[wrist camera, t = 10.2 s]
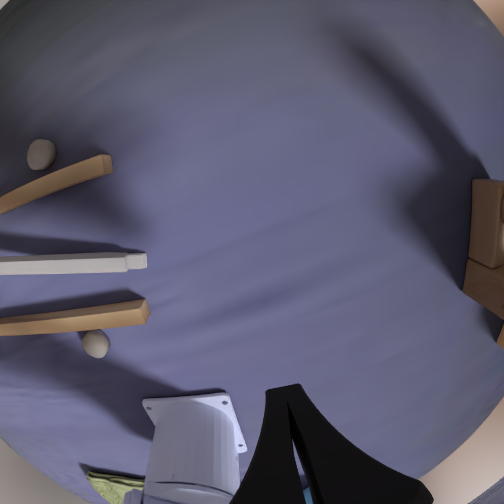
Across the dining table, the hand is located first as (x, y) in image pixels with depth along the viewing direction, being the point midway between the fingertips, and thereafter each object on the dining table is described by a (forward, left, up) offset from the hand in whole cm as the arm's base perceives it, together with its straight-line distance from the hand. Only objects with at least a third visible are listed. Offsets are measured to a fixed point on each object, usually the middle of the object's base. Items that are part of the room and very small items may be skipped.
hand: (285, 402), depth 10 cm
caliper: (+6, +17, -10) cm, 21 cm away
